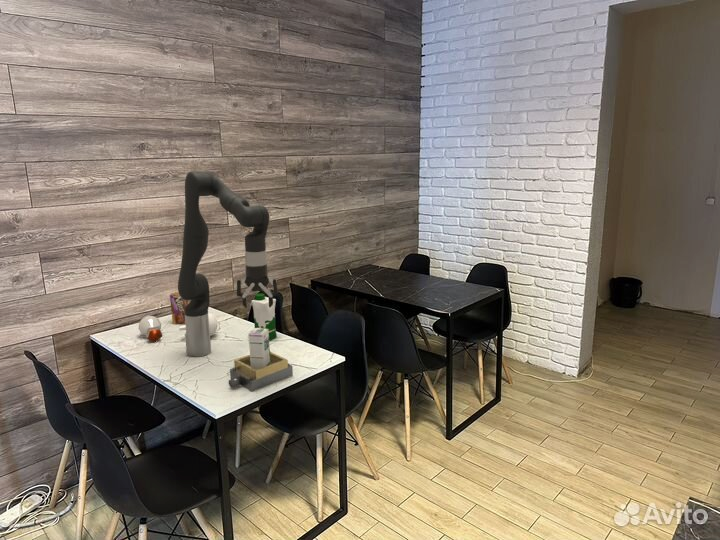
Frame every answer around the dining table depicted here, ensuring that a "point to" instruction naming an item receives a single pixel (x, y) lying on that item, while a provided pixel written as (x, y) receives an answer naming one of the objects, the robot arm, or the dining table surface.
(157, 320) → the potion bottle
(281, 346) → the dining table surface
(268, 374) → the wooden drawer tray
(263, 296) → the milk carton
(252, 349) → the syrup box
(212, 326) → the piggy bank
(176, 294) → the candy box
